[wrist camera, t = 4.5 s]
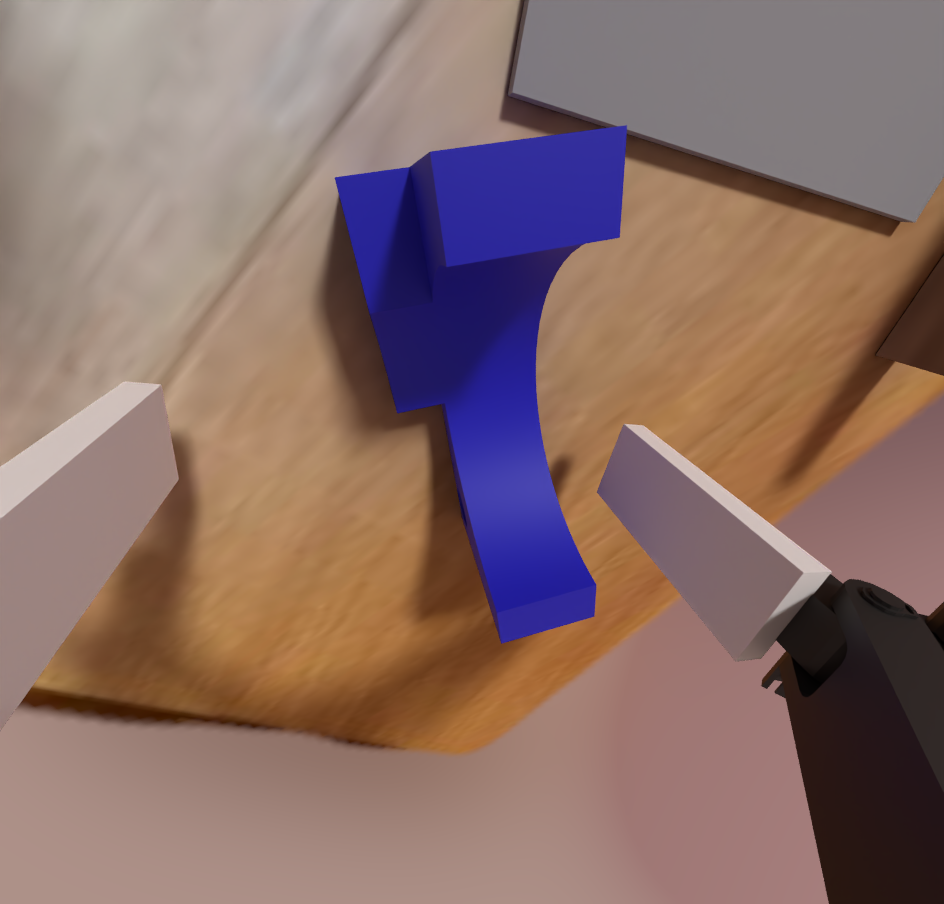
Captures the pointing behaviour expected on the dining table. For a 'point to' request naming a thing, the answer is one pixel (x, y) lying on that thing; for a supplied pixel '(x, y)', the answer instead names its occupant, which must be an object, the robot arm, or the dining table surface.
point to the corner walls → (921, 328)
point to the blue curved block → (488, 335)
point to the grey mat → (757, 86)
